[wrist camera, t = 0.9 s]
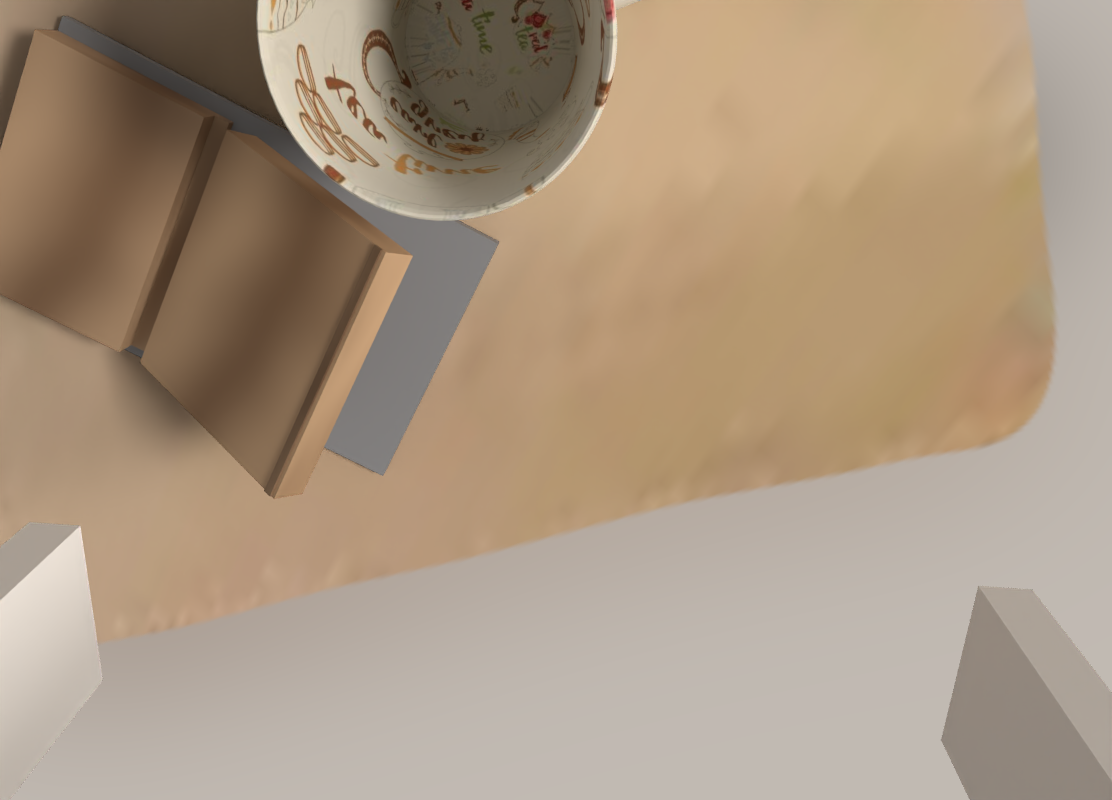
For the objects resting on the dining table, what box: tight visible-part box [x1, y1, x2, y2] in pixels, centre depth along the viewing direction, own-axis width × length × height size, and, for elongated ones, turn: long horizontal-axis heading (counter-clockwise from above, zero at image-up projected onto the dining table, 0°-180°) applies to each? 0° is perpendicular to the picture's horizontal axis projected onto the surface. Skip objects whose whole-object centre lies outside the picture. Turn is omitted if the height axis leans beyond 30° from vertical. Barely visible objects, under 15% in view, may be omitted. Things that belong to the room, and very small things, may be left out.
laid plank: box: [0, 30, 234, 352], centre depth 33 cm, size 6×9×1 cm
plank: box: [140, 129, 413, 499], centre depth 31 cm, size 8×9×1 cm
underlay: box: [58, 16, 499, 476], centre depth 34 cm, size 16×10×1 cm, turn 63°
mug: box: [256, 0, 640, 221], centre depth 26 cm, size 8×13×10 cm, turn 114°
